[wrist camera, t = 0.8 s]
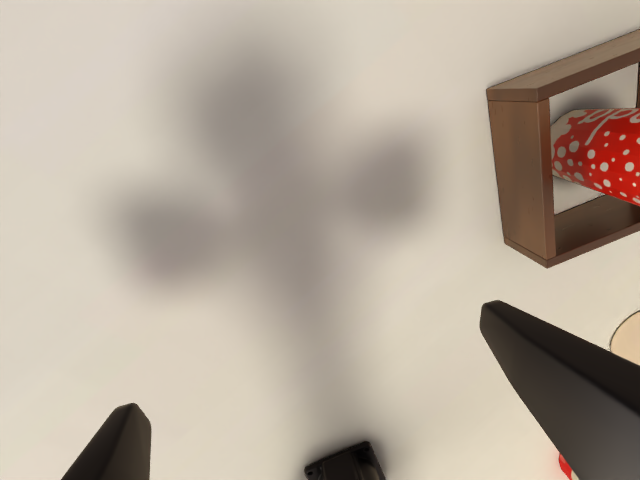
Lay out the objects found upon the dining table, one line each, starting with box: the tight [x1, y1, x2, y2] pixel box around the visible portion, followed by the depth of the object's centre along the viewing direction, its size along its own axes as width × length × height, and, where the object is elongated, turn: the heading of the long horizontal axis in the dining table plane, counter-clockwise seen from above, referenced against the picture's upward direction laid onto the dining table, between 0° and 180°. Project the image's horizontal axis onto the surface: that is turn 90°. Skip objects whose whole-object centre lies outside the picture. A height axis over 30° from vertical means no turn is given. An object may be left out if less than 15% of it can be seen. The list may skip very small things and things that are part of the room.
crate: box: [487, 29, 640, 268], centre depth 22 cm, size 11×11×4 cm
